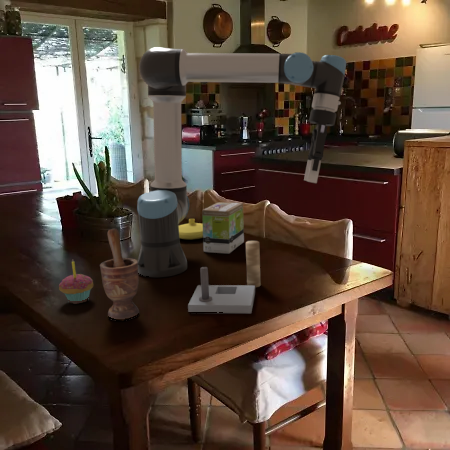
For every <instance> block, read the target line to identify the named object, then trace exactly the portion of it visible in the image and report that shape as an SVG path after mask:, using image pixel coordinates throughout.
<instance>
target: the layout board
mask: <svg viewBox="0 0 450 450" xmlns="http://www.w3.org/2000/svg"><path fill="white" fill-rule="evenodd" d="M199 269H200V270H199V272H200V284H198V285H197V286H196V288H195V290H194V293H193V294H192V297H191V298H190V300H189V303H188V304H187V309H188V310H187V313H188V312H217V313H216V314H220V313H219V312H223V313H222V314H252V313H253V312H252V311H253V306H254V302H255V295H256V287H255V285H247V284H245V285H241V284H240V285H239V284H237V285H234V284H233V285H231V284H230V285H229V284H228V285H227V284H226V285H224V284H223V285H222V284H221V285H220V284H219V285H218V284H217V285H216V284H214V285H213V284H212V285H211V284H209V283H210V282H209V270H208V269H209V268H208V267H207V266H202V267H200V268H199Z"/></svg>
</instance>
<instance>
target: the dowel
mask: <svg viewBox="0 0 450 450" xmlns="http://www.w3.org/2000/svg"><path fill="white" fill-rule="evenodd" d="M245 259H246V261H245V262H246V285H255V288H259V287H260V286H261V268H260V267H261V255H260V241H258V240H247V241H246V242H245Z"/></svg>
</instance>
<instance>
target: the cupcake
mask: <svg viewBox="0 0 450 450" xmlns="http://www.w3.org/2000/svg"><path fill="white" fill-rule="evenodd" d="M71 267H72V274H70V275H67V276H66V277H64V278H63V279H61V281H60V282H59V284H58V287H59V288H58V290H59V291H60V292H61V293H63V294H64V295H65V298H66V299H67V301H68V300H70V301H82V300H85V299H87V298H88V297H90V293H91V290H92V288H94V280H93V279H92V277H90V276H89V275H86V274H82V273H77V271H76V264H75V261H74V259H72V260H71ZM88 299H89V298H88Z"/></svg>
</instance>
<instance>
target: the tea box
mask: <svg viewBox="0 0 450 450" xmlns="http://www.w3.org/2000/svg"><path fill="white" fill-rule="evenodd" d="M201 210H202V211H201V212H202V215H201V216H202V219H201V220H202V224H203V238H202V245H203V246H202V247H203V252H205V253H213V254H214V253H215V254H216V253H217V254H227V255H228V254H231V253H232V252H233V251H234V250H236V249H237V248H238V247H239V246H240V245H242V244H243V243H244V242H245V234H244V233H245V232H244V230H245V229H244V226H245V225H244V203H243V202H223V201H222V202H221V201H220V202H219V201H218V202H216V203H213V204H211V205H210V206H208V207H205V208H203V209H201Z"/></svg>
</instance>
